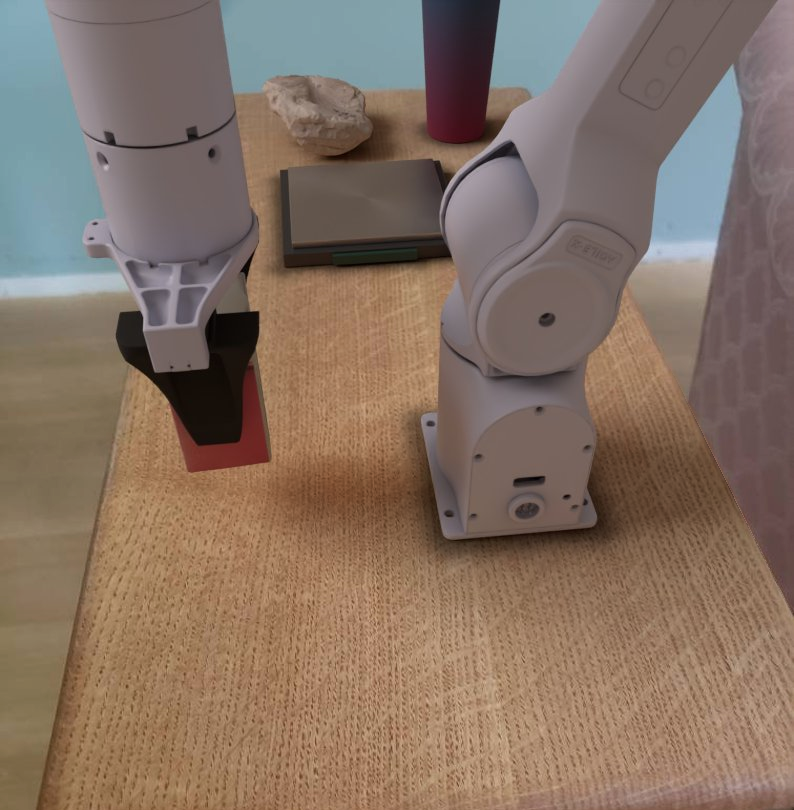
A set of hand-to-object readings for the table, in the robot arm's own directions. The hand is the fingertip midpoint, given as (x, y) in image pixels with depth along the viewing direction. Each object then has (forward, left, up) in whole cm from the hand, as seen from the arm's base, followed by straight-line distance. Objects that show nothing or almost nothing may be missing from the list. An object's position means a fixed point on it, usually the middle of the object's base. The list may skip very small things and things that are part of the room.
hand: (220, 399), depth 42 cm
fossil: (+42, -6, -6) cm, 43 cm away
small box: (0, 0, -3) cm, 3 cm away
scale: (+28, -9, -6) cm, 30 cm away
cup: (+42, -18, -6) cm, 46 cm away
